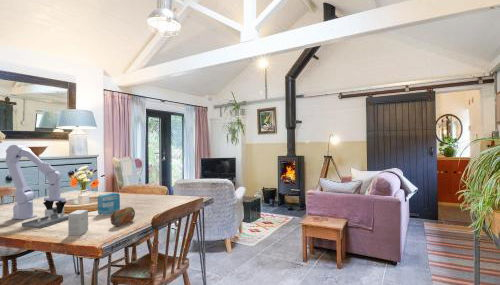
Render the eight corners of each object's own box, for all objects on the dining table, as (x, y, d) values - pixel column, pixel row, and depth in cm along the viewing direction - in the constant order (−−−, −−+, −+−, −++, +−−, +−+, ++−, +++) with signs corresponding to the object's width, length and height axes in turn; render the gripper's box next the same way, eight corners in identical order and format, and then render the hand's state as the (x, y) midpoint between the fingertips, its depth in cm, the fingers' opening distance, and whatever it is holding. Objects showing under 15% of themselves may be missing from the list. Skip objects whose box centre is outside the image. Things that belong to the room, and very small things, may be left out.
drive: (44, 218, 163) (44, 209, 163) (58, 214, 172) (58, 206, 172) (50, 218, 162) (50, 209, 162) (64, 214, 171) (64, 206, 171)
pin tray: (21, 226, 146) (21, 220, 146) (56, 216, 166) (56, 211, 166) (40, 228, 143) (40, 222, 143) (73, 217, 162) (73, 212, 162)
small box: (77, 230, 138) (76, 209, 138) (88, 230, 139) (88, 209, 139) (67, 235, 130) (67, 214, 130) (80, 235, 131) (79, 213, 131)
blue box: (101, 215, 167) (101, 196, 167) (97, 214, 169) (97, 195, 169) (120, 211, 177) (119, 193, 177) (116, 210, 179) (116, 192, 179)
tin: (114, 228, 142) (113, 212, 142) (109, 227, 143) (109, 211, 143) (135, 220, 156) (135, 205, 156) (131, 219, 157) (130, 205, 157)
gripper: (38, 191, 165) (39, 214, 165) (58, 192, 161) (58, 215, 161) (50, 189, 172) (50, 211, 172) (68, 190, 168) (68, 212, 168)
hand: (54, 213), depth 167 cm, fingers open, 7 cm apart
